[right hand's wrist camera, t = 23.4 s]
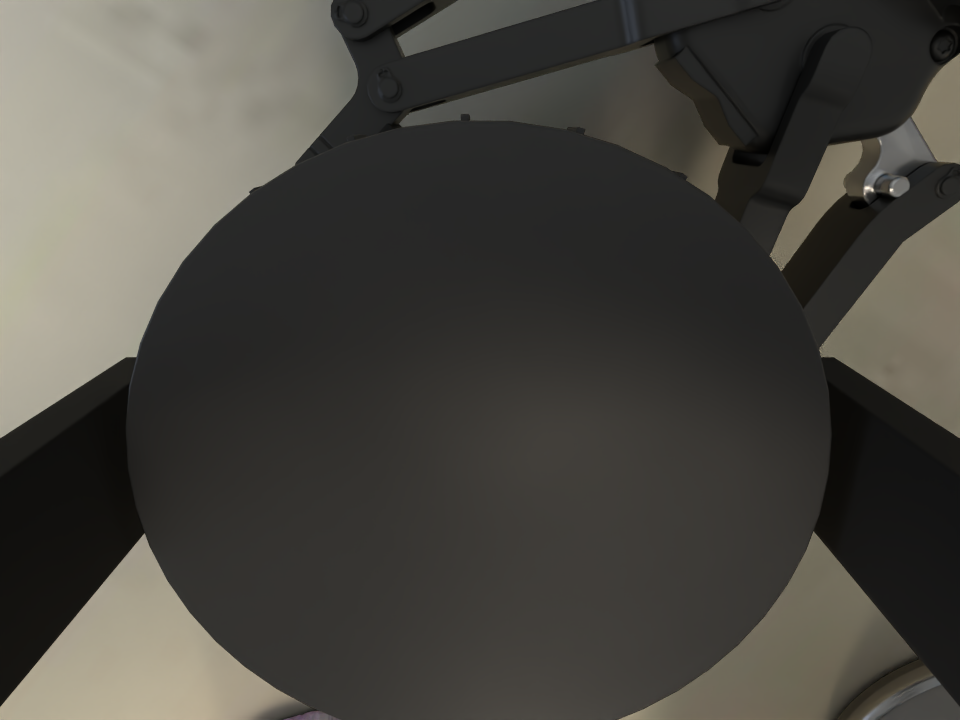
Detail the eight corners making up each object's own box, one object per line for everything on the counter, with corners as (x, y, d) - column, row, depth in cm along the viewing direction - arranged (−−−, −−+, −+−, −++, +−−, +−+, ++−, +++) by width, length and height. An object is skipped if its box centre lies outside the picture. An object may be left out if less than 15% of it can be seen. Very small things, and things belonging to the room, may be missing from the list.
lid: (319, 731, 14) (300, 803, 12) (47, 248, 10) (-28, 269, 9) (826, 603, 13) (873, 666, 11) (722, 6, 9) (770, -17, 8)
